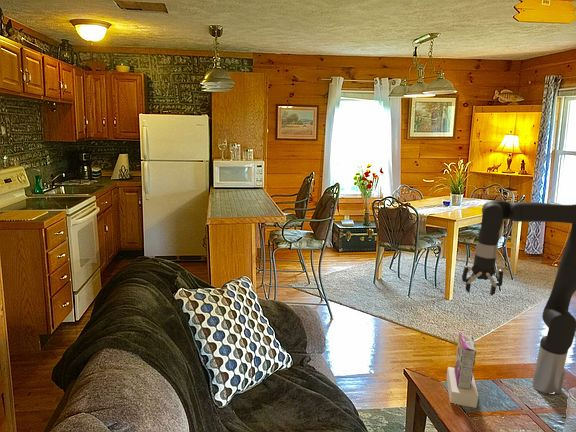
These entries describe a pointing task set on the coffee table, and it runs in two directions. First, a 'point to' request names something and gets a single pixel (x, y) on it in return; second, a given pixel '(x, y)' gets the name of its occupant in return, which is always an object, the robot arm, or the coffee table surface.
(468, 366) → the candy bar box
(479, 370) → the coffee table surface
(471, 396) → the plain white box
